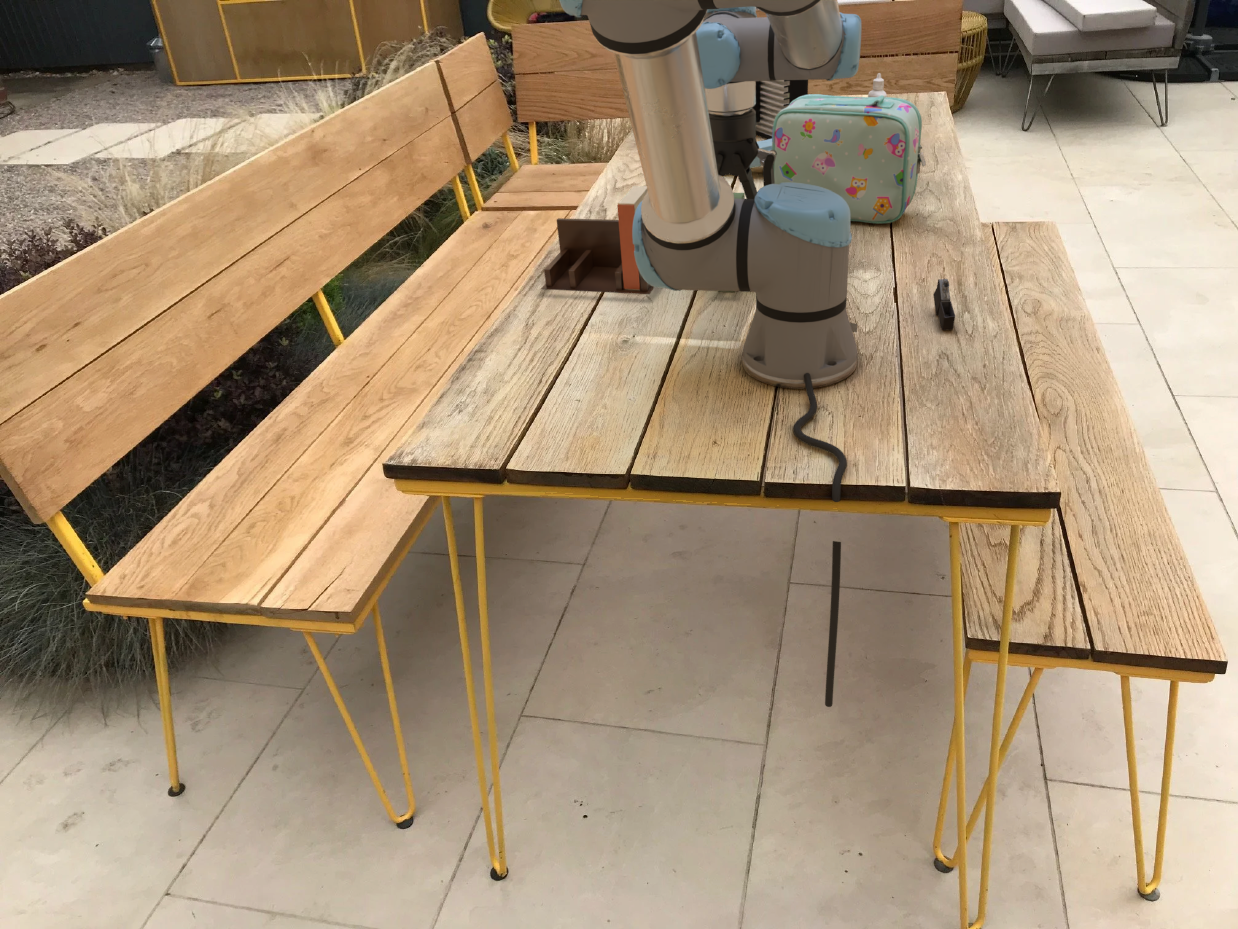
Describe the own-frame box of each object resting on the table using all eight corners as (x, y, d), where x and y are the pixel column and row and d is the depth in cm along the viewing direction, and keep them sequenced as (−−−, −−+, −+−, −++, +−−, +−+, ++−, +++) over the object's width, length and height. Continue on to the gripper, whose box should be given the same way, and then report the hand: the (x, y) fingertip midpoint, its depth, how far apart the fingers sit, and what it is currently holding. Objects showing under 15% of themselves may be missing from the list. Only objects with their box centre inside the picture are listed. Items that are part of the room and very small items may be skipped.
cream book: (639, 290, 151) (633, 203, 143) (624, 289, 151) (617, 203, 144) (654, 269, 157) (649, 185, 150) (638, 269, 158) (633, 185, 151)
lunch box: (924, 212, 173) (937, 89, 162) (908, 231, 166) (920, 104, 155) (787, 198, 186) (789, 83, 174) (766, 215, 179) (767, 96, 167)
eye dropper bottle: (865, 130, 222) (869, 76, 215) (866, 124, 227) (869, 71, 220) (885, 130, 221) (889, 75, 214) (884, 123, 226) (888, 70, 219)
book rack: (650, 301, 150) (646, 245, 145) (541, 295, 155) (534, 241, 150) (667, 274, 159) (664, 220, 153) (564, 269, 164) (558, 217, 159)
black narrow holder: (953, 340, 136) (960, 321, 131) (938, 341, 136) (945, 321, 131) (947, 293, 139) (954, 272, 134) (932, 293, 139) (939, 273, 134)
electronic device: (710, 123, 238) (708, 37, 227) (747, 116, 242) (747, 31, 231) (771, 147, 216) (772, 53, 205) (811, 138, 220) (814, 45, 209)
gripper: (800, 102, 137) (796, 255, 149) (671, 103, 142) (678, 251, 155) (792, 115, 131) (789, 273, 144) (658, 116, 136) (666, 268, 149)
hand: (731, 261), depth 149 cm, fingers open, 6 cm apart
